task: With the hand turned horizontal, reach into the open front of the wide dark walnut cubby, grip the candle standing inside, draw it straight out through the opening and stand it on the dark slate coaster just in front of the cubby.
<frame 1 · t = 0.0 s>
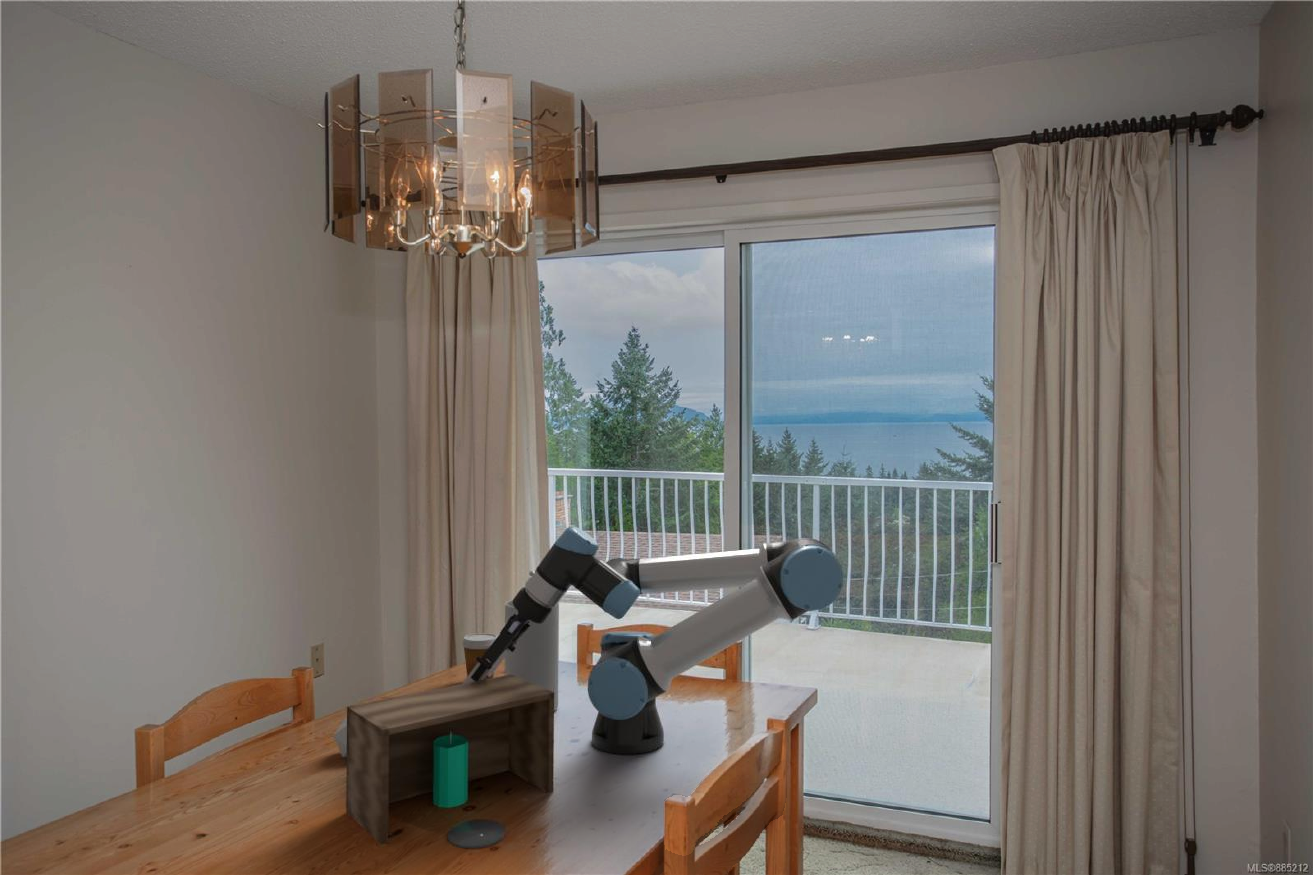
hand: (475, 682, 172), 15 cm above the table, tool tilted 35°, fingers open, 13 cm apart
cubby: (452, 802, 152), on the table
cylinder vase: (531, 710, 204), on the table
candle: (450, 801, 153), on the table
disposable coffee cup: (480, 684, 226), on the table
coaster: (476, 835, 140), on the table
die: (357, 755, 175), on the table
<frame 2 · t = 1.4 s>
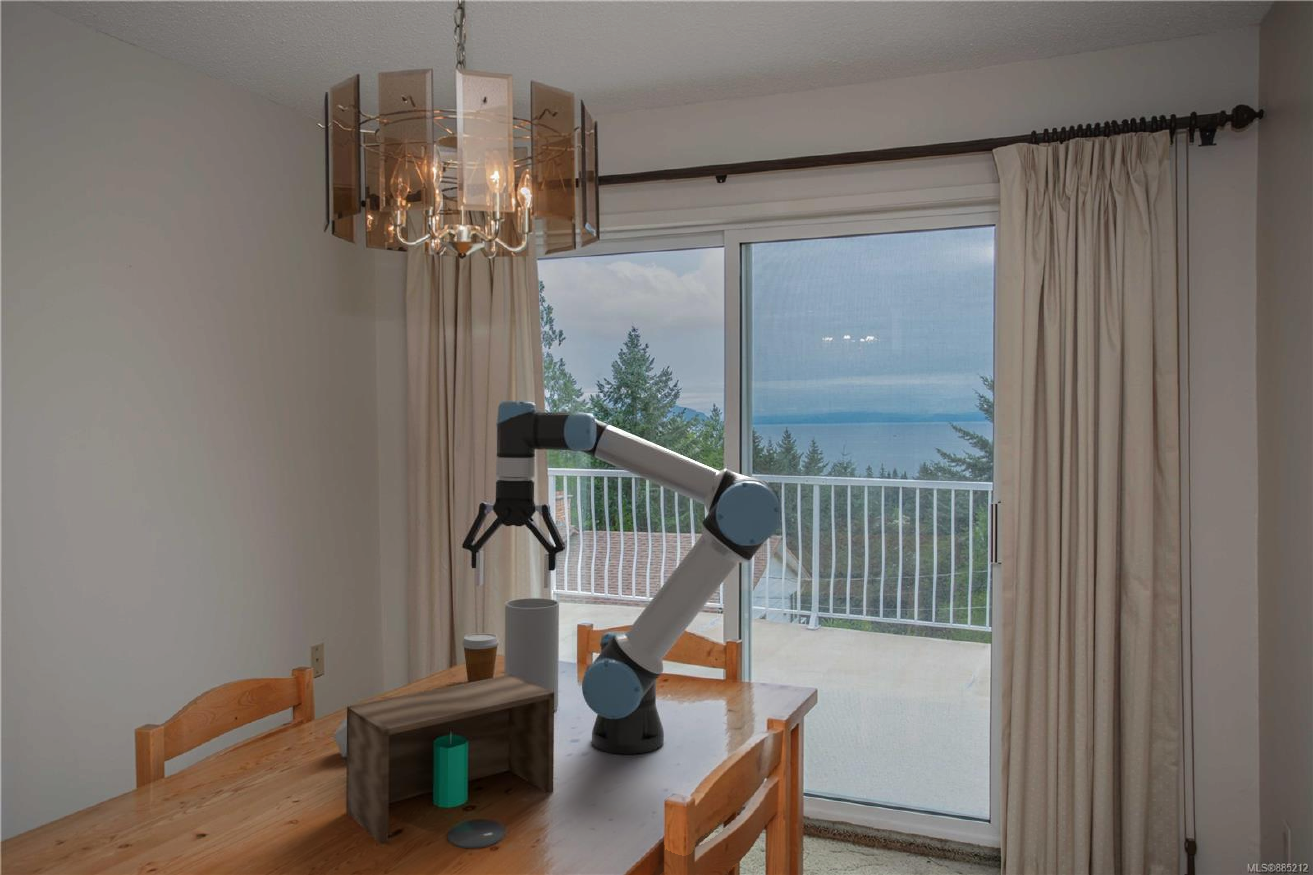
hand: (513, 586, 173), 34 cm above the table, tool pointing down, fingers open, 13 cm apart
nothing on the table moved.
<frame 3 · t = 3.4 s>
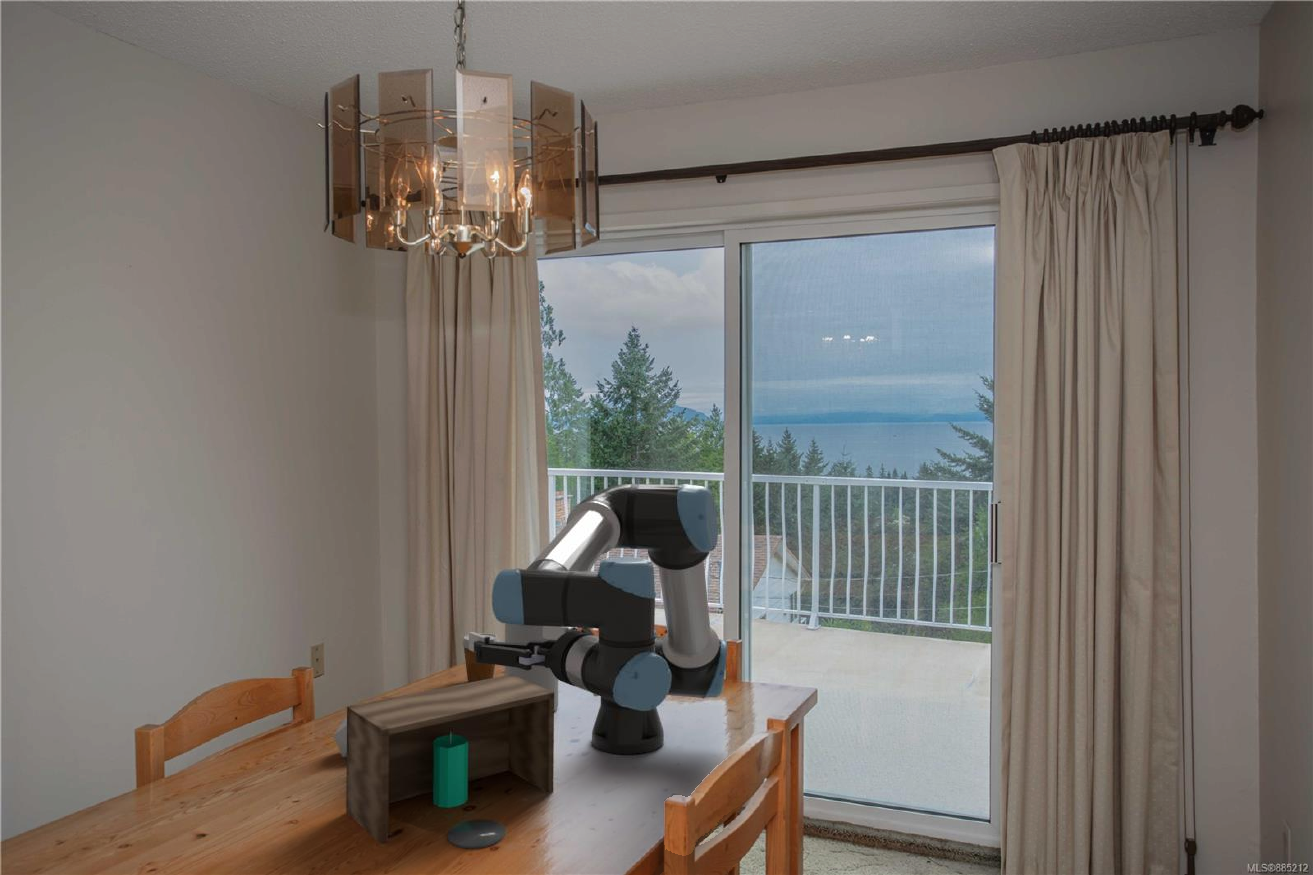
hand: (508, 634, 141), 32 cm above the table, tool horizontal, fingers open, 13 cm apart
nothing on the table moved.
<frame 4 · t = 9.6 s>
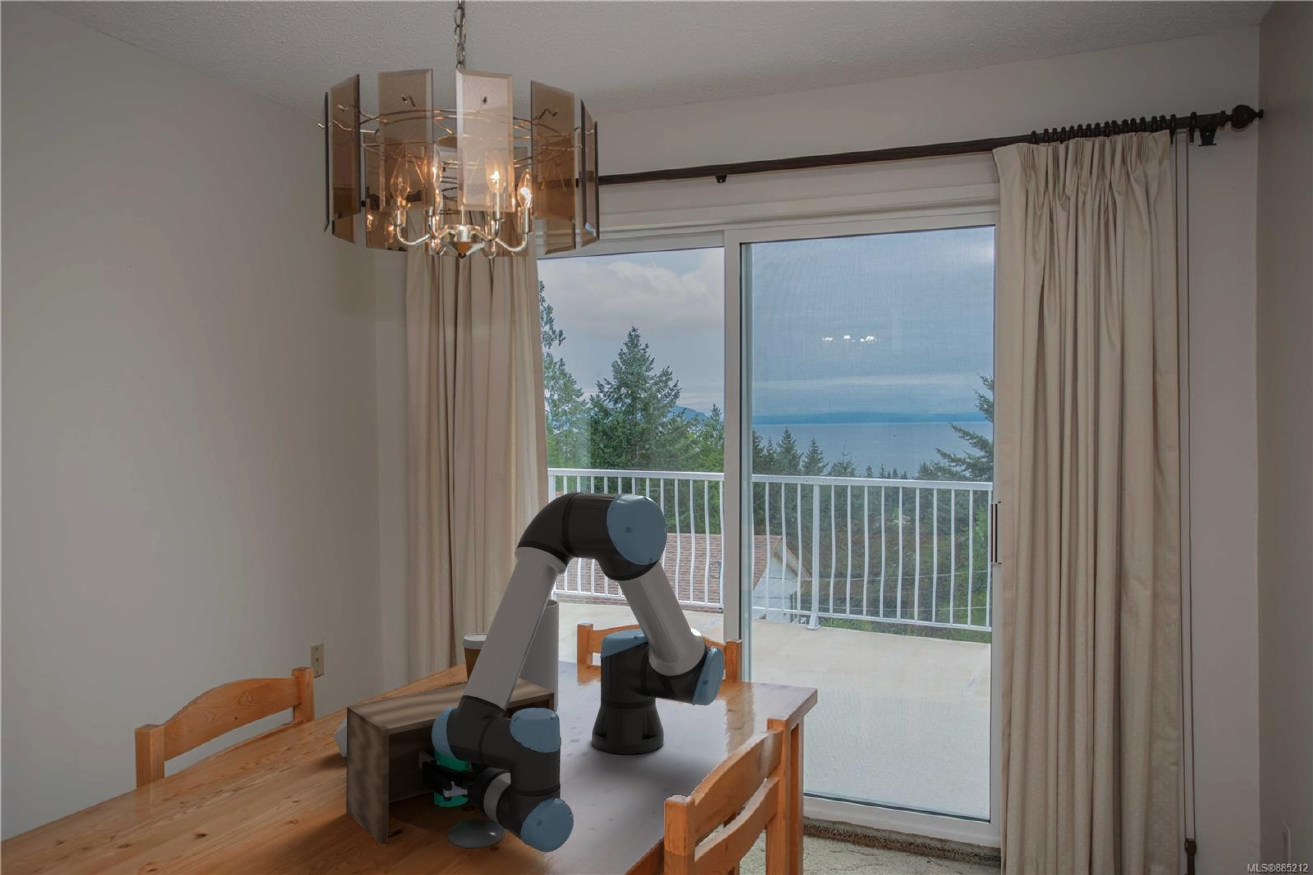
hand: (436, 755, 157), 6 cm above the table, tool horizontal, fingers closed on candle, 5 cm apart
candle: (451, 800, 153), on the table, touching gripper
everything else where it was.
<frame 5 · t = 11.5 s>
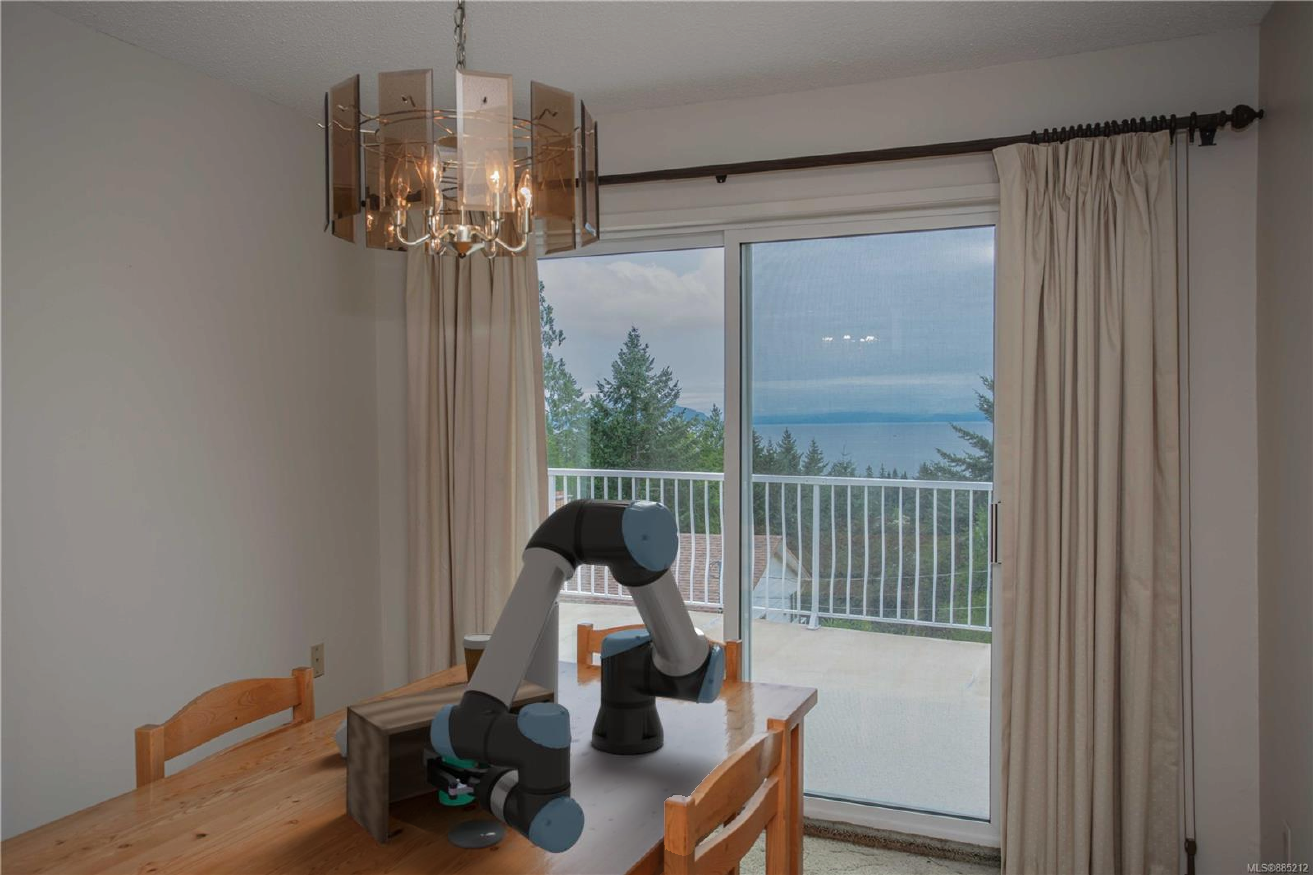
hand: (442, 751, 151), 9 cm above the table, tool horizontal, fingers closed on candle, 5 cm apart
candle: (456, 799, 148), point 2 cm above the table, touching gripper
everything else where it was.
when the fingers open (8 cm above the table, at t = 13.5 s): candle drops 1 cm, resting on coaster.
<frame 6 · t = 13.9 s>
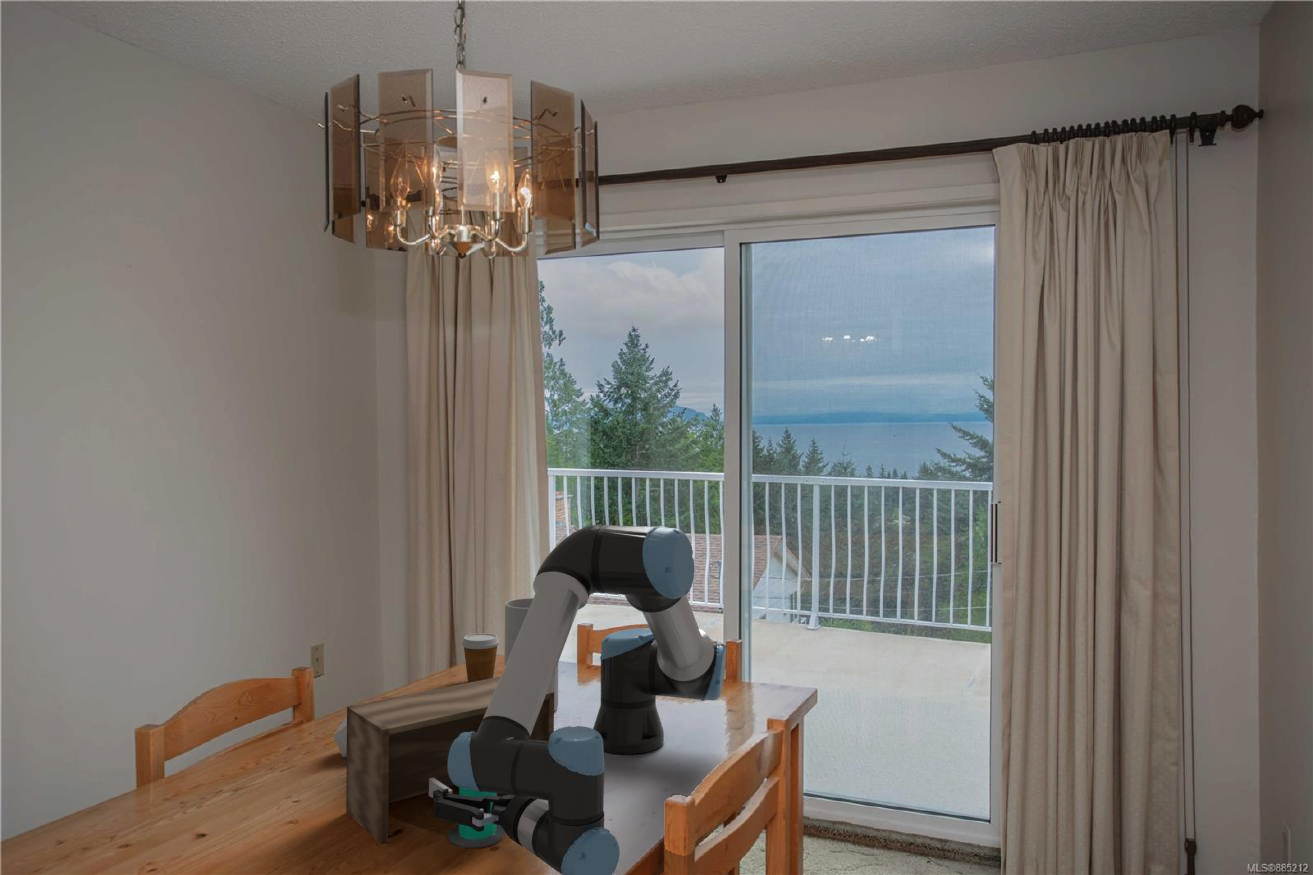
hand: (465, 777, 143), 8 cm above the table, tool horizontal, fingers open, 11 cm apart
candle: (477, 832, 140), resting on coaster
everything else where it was.
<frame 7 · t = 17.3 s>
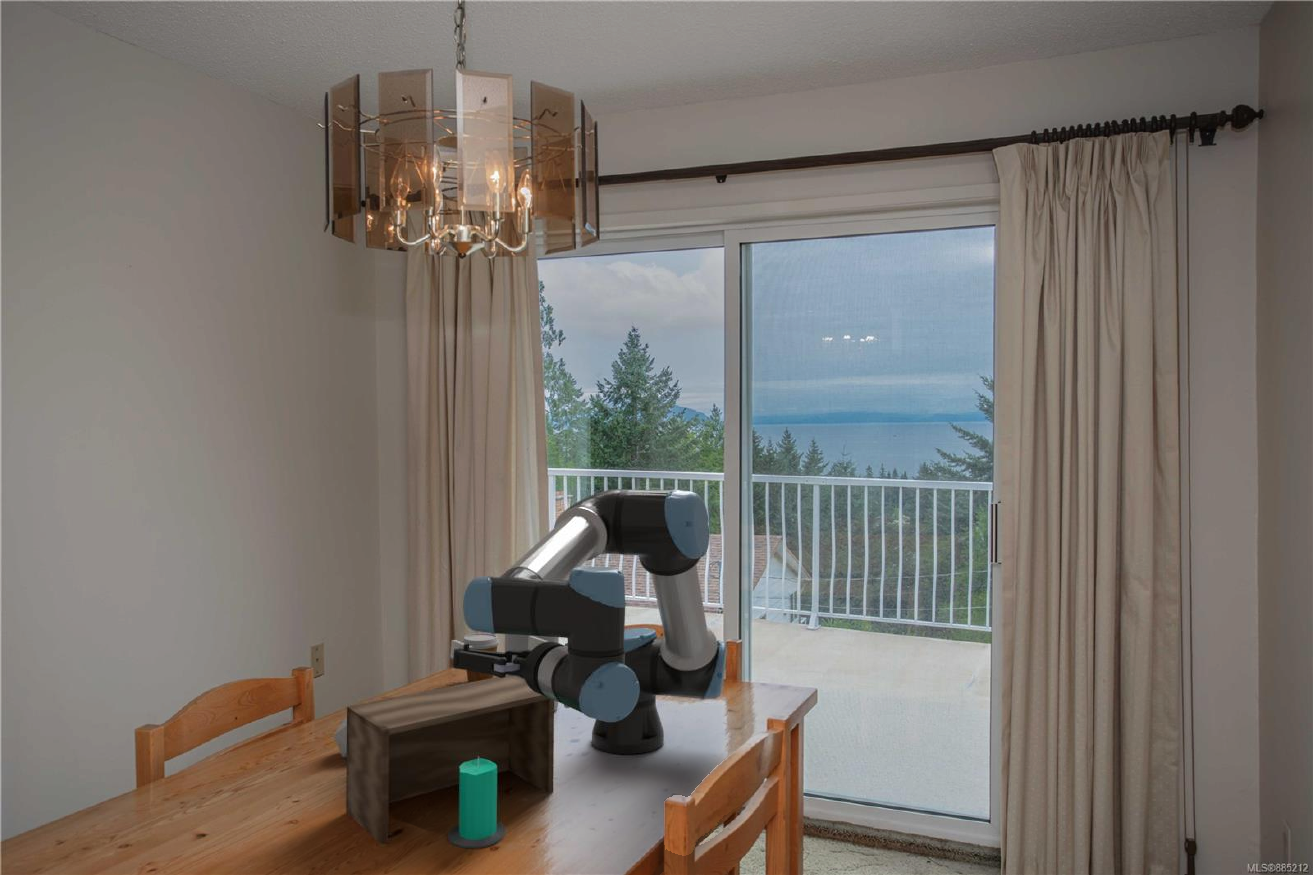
hand: (492, 646, 141), 30 cm above the table, tool horizontal, fingers open, 13 cm apart
nothing on the table moved.
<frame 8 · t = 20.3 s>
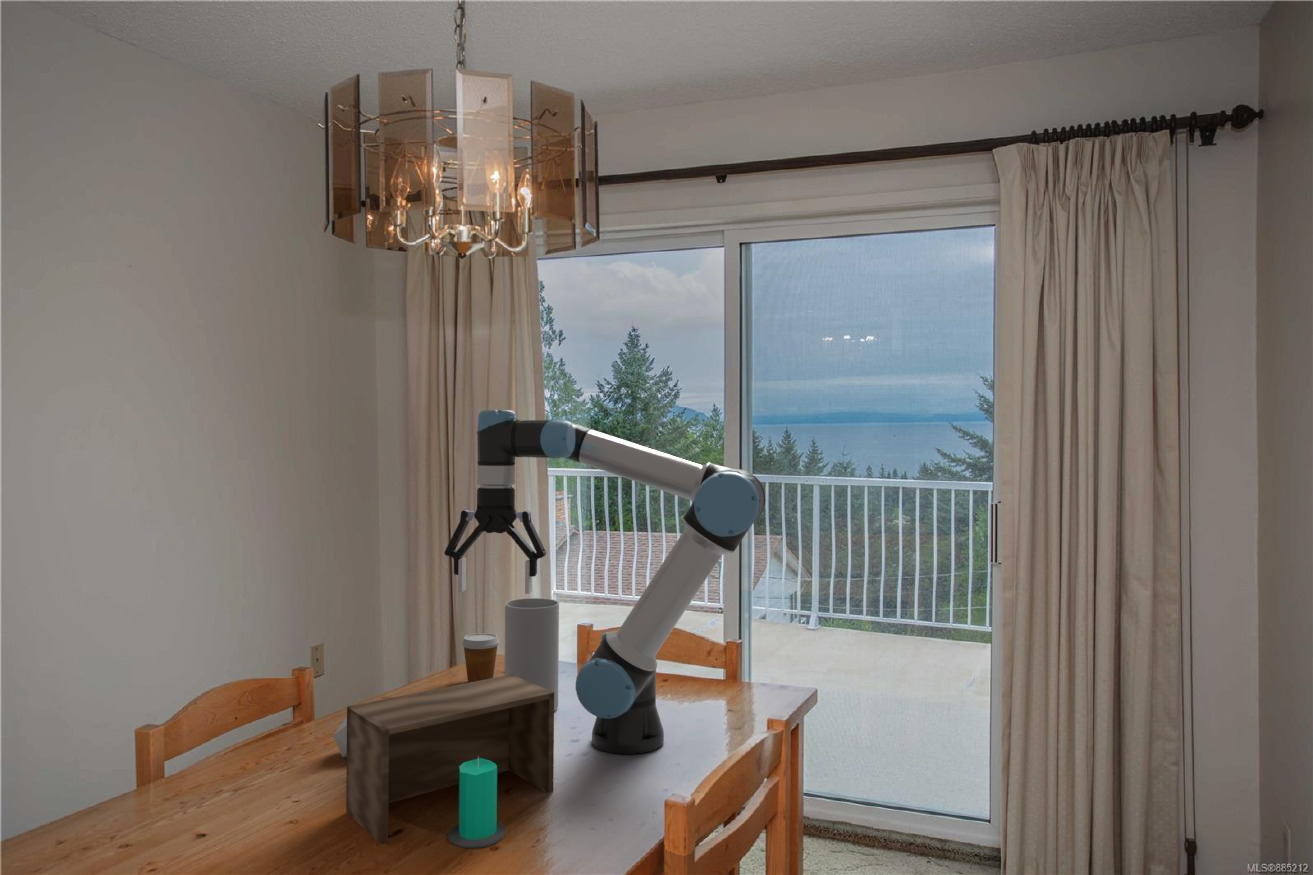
hand: (495, 592, 175), 33 cm above the table, tool pointing down, fingers open, 13 cm apart
nothing on the table moved.
at the end: candle 0.2 cm from the coaster (horizontally); candle tilted 0°; the gripper is holding nothing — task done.
